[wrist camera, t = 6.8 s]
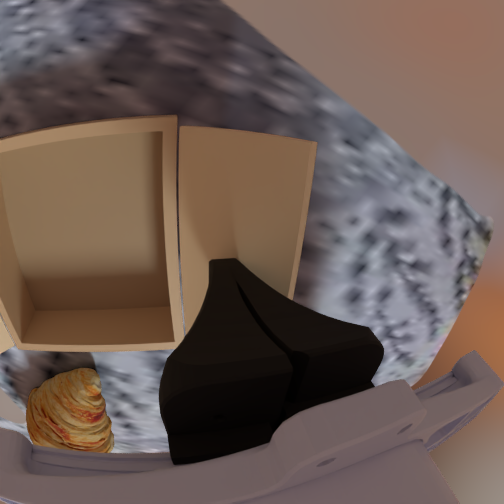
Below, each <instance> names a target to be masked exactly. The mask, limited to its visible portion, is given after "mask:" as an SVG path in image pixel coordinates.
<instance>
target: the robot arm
mask: <svg viewBox="0 0 504 504" xmlns="http://www.w3.org/2000/svg"><path fill="white" fill-rule="evenodd" d="M383 356H384V348H383V345H382V344H381V342H380V341H379V340H378V339H377V337H376V336H375V335H374V333H373V332H372V331H371V330H370V328H369V327H366V326H361V325H357V324H352V323H348V322H344V321H341V320H338V319H334V318H331V317H328V316H326V315H323V314H320V313H318V312H315V311H313V310H311V309H308V308H306V307H304V306H302V305H300V304H298V303H296V302H294V301H293V300H291V299H289V298H287V297H285V296H284V295H282V294H281V293H279V292H278V291H276V290H275V289H273V288H272V287H270V286H269V285H268V284H266V283H265V282H264V281H262V280H261V279H260V278H258V277H257V276H256V275H255V274H254V273H252V272H251V271H250V270H249V269H248V268H247V267H245V266H244V265H243V264H242V263H241V262H240V261H239V260H237V259H236V258H226V259H211V260H210V261H209V284H208V289H207V292H206V295H205V298H204V301H203V304H202V307H201V309H200V311H199V313H198V315H197V317H196V319H195V321H194V323H193V325H192V327H191V328H190V330H189V331H188V333H187V334H186V336H185V337H184V339H183V340H182V342H181V343H180V344H179V345H178V347H177V348H176V349H175V350H174V351H173V352H172V353H171V355H170V356H169V357H168V358H167V361H166V364H165V367H164V370H163V374H162V378H161V382H160V388H159V405H160V414H161V417H162V420H163V423H164V426H165V429H166V431H167V434H168V442H169V450H170V453H147V454H122V453H98V452H85V451H74V450H66V449H58V448H51V447H45V446H39V445H33V444H31V442H30V441H29V440H28V439H27V438H26V437H25V436H24V435H23V434H21V433H19V432H16V431H13V430H9V429H4V428H0V500H1V501H3V502H5V503H7V504H460V503H459V501H458V500H457V498H456V496H455V495H454V493H453V491H452V490H451V488H450V486H449V485H448V483H447V481H446V480H445V478H444V477H443V475H442V473H441V472H440V470H439V469H438V467H437V465H436V464H435V462H434V461H433V459H432V457H431V456H430V454H429V452H430V451H432V450H433V449H435V448H436V447H437V446H439V445H440V444H442V443H443V442H444V441H446V440H447V439H449V438H450V437H451V436H452V435H454V434H455V433H456V432H458V431H459V430H460V429H462V428H463V427H464V426H465V425H467V424H468V423H469V422H470V421H472V420H473V419H474V418H475V417H476V416H477V415H478V414H479V413H480V412H481V411H482V410H483V409H484V407H486V406H487V404H488V403H489V402H490V401H491V400H492V399H493V398H494V397H495V395H496V394H497V393H498V392H499V390H501V388H502V387H503V386H504V383H503V381H502V380H501V379H500V378H499V377H498V375H497V374H496V373H495V372H494V371H493V370H492V369H491V368H490V366H489V365H488V364H487V363H486V362H485V361H484V360H483V358H482V357H481V356H480V355H479V354H478V353H477V352H476V351H475V350H473V351H472V352H470V353H468V354H466V355H465V356H463V357H462V358H460V359H459V360H458V361H457V363H456V364H455V365H454V367H453V369H452V371H451V372H449V373H447V374H445V375H443V376H442V377H440V378H438V379H436V380H434V381H432V382H430V383H428V384H426V385H424V386H422V387H420V388H418V389H416V390H414V391H413V390H412V389H411V387H410V386H409V384H408V383H407V382H406V381H405V380H402V379H400V380H395V381H390V382H387V383H384V384H382V385H379V386H376V387H375V386H374V385H373V383H372V382H371V380H372V378H373V376H374V374H375V373H376V371H377V369H378V367H379V366H380V364H381V361H382V359H383Z"/></svg>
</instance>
